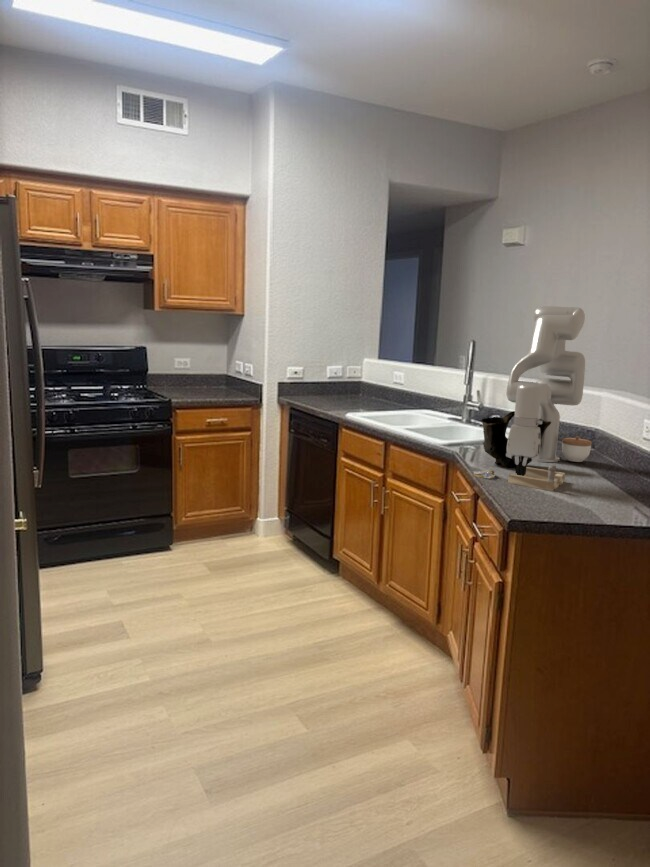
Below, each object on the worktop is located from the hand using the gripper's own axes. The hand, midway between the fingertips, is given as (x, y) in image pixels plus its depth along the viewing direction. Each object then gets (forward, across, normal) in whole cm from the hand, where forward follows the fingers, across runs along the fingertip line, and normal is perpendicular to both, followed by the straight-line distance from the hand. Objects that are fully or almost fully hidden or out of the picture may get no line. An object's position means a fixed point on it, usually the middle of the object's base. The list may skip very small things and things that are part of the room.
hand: (520, 476), depth 216 cm
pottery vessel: (+2, +9, -20) cm, 22 cm away
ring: (+1, +13, 0) cm, 13 cm away
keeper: (+1, -4, 0) cm, 5 cm away
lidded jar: (+2, -7, -47) cm, 48 cm away
